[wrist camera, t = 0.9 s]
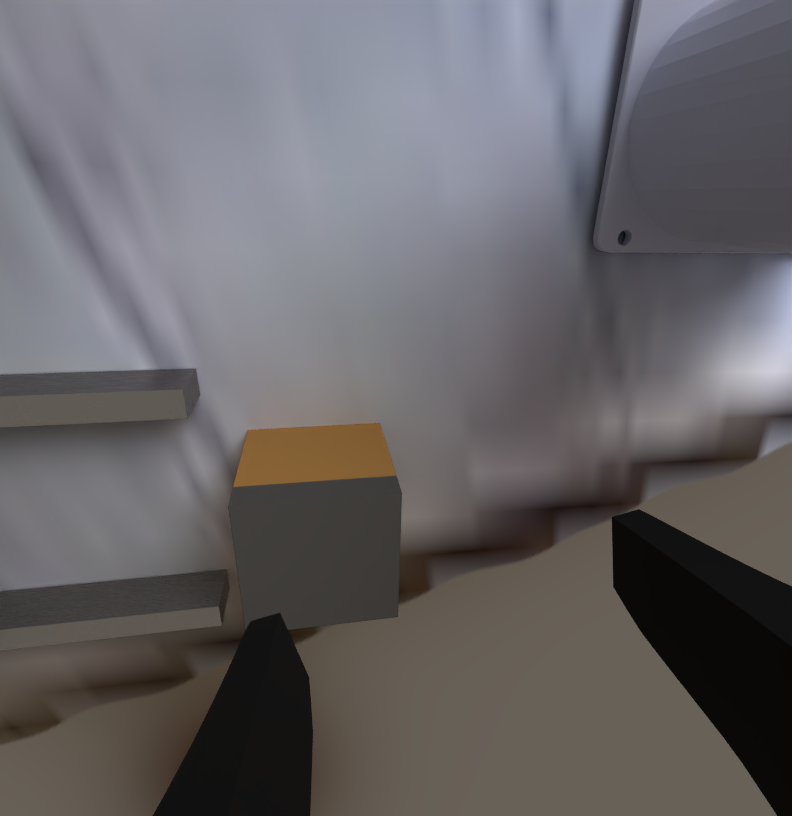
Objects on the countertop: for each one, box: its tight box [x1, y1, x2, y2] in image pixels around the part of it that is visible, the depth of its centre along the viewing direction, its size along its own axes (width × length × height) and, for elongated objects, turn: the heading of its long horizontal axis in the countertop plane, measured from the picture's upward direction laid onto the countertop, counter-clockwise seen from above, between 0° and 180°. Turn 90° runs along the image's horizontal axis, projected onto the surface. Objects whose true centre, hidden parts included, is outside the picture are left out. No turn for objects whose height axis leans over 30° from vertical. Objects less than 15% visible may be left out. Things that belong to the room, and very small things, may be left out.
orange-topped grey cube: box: [228, 423, 402, 630], centre depth 17 cm, size 5×5×5 cm
